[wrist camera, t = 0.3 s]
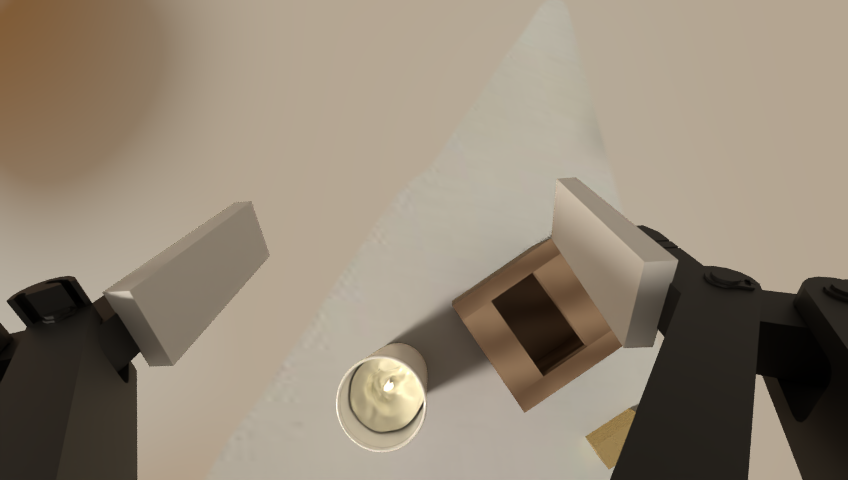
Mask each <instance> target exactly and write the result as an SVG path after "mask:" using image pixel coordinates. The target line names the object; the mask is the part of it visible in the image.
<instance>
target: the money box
mask: <svg viewBox="0 0 848 480" xmlns="http://www.w3.org/2000/svg"><path fill="white" fill-rule="evenodd" d="M452 306H453V307H454V309H455V310H456V312H457V313H458V315H459V316H460V318H461V319H462V321H463V322H464V324H465V325H466V327H467V328H468V330H469V331H470V333H471V334H472V336H473V337H474V339H475V340H476V341H477V343H478V344H479V346H480V347H481V349H482V350H483V352H484V353H485V355H486V356H487V358H488V359H489V361H490V362H491V364H492V365H493V367H494V368H495V370H496V371H497V373H498V374H499V376H500V377H501V379H502V380H503V382H504V383H505V384H506V386H507V387H508V389H509V390H510V392H511V393H512V395H513V396H514V398H515V399H516V401H517V402H518V404H519V405H520V407H521V408H522V410H523V411H524V413H525V412H526V411H528V410H529V409H531V408H532V407H534V406H535V405H537V404H538V403H540V402H541V401H543V400H544V399H546V398H547V397H548V396H550V395H551V394H553V393H554V392H556V391H557V390H559V389H560V388H562V387H563V386H565V385H566V384H568V383H569V382H570V381H572V380H573V379H575V378H576V377H578V376H579V375H581V374H582V373H584V372H585V371H587V370H588V369H590V368H591V367H592V366H594V365H595V364H597V363H598V362H600V361H601V360H603V359H604V358H606V357H607V356H609V355H610V354H612V353H613V352H615V351H616V350H617V349H619V348H620V347H622V345H621V343H620V342H619V340H618V338H617V337H616V335H615V334H614V332H613V331H612V329H611V328H610V326H609V325H608V323H607V322H606V320H605V319H604V317H603V316H602V314H601V313H600V311H599V310H598V308H597V307H596V305H595V304H594V302H593V301H592V299H591V298H590V296H589V295H588V293H587V292H586V290H585V289H584V287H583V286H582V284H581V283H580V281H579V280H578V278H577V277H576V275H575V273H574V272H573V270H572V269H571V267H570V266H569V264H568V263H567V261H566V260H565V258H564V257H563V255H562V254H561V252H560V251H559V249H558V248H557V246H556V245H555V243H554V242H553V240H552V239H548V240H546V241H544V242H541V243H539V244H536V245H534V246H532V247H531V248H529V249H528V250H526V251H525V252H523V253H522V254H520V255H519V256H517V257H516V258H515V259H513V260H512V261H510V262H509V263H507V264H506V265H504V266H503V267H501V268H500V269H498V270H497V271H495V272H494V273H493V274H491V275H490V276H488V277H487V278H485V279H484V280H482V281H481V282H479V283H478V284H476V285H475V286H474V287H472V288H471V289H469V290H468V291H466V292H465V293H463V294H462V295H460V296H459V297H457V298H456V299H454V300H453V301H452Z"/></svg>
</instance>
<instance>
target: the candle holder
mask: <svg viewBox="0 0 848 480" xmlns="http://www.w3.org/2000/svg"><path fill="white" fill-rule="evenodd" d="M427 378H428V375H427V367H426V363H425V361H424V359H423V357H422V356H421V354H420V353H419V352H418V351H417V350H416V349H415V348H413V347H411V346H409V345H407V344H403V343H392V344H389V345H386V346H384V347H382V348H380V349H379V350H377V351H376V352H374V353H373V354H371V355H369V356H368V357H366V358H365V359H362V360H361V361H359V362H357V363H356V364H355V365H353V366H352V367H351V368H350V369H349V370H348V371H347V373H346V374H345V375H344V377H343V379H342V381H341V383H340V385H339V388H338V391H337V397H336V410H337V415H338V419H339V422H340V424H341V426H342V428H343V430H344V431H345V433H346V434H347V435H348V437H349V438H350V439H351V440H352V441H353V442H355V443H356V444H357V445H359V446H361V447H363V448H365V449H367V450H370V451H375V452H389V451H394V450H397V449H399V448H401V447H403V446H405V445H406V444H408V443H409V442H410V441H411V440H412V439H413V438H414V437H415V436H416V435H417V434H418V432H419V431H420V429H421V427H422V425H423V423H424V420H425V416H426V411H427Z"/></svg>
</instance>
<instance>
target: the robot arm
mask: <svg viewBox="0 0 848 480" xmlns="http://www.w3.org/2000/svg"><path fill="white" fill-rule="evenodd" d="M551 239H552V240H553V242H554V243H555V245H556V246H557V248H558V249H559V251H560V252H561V254H562V255H563V257H564V258H565V260H566V261H567V263H568V264H569V266H570V267H571V269H572V270H573V272H574V273H575V275H576V277H577V278H578V280H579V281H580V283H581V284H582V286H583V287H584V289H585V290H586V292H587V293H588V295H589V296H590V298H591V299H592V301H593V302H594V304H595V305H596V307H597V308H598V310H599V311H600V313H601V314H602V316H603V317H604V319H605V320H606V322H607V323H608V325H609V326H610V328H611V329H612V331H613V332H614V334H615V335H616V337H617V338H618V340H619V342H620V343H621V345H622V346H623V348H637V347H653V345H654V341H655V338H656V335H657V331H658V330H659V331H660V332H661V333H662V335H663V336H664V340H663V343H662V346H661V348H660V351H659V353H658V356H657V358H656V361H655V364H654V366H653V369H652V371H651V374H650V377H649V379H648V382H647V385H646V387H645V390H644V392H643V395H642V398H641V400H640V403H639V405H638V408H637V411H636V413H635V416H634V418H633V421H632V424H631V426H630V429H629V432H628V434H627V437H626V439H625V442H624V445H623V447H622V450H621V452H620V455H619V458H618V460H617V463H616V466H615V468H614V471H613V473H612V476H611V479H610V480H748V471H749V457H750V445H751V431H752V418H753V405H754V392H755V391H754V390H755V379H756V374H758V375H762V376H763V378H764V381H765V384H766V386H767V389H768V392H769V394H770V397H771V399H772V402H773V404H774V407H775V410H776V412H777V415H778V417H779V420H780V423H781V425H782V428H783V430H784V433H785V435H786V438H787V440H788V443H789V446H790V448H791V451H792V453H793V456H794V459H795V461H796V464H797V466H798V469H799V471H800V474H801V476H802V479H803V480H848V280H846V279H845V280H842V279H837V278H830V277H813V278H808V279H806V280H805V281H804V282H803V283H802V285H801V287H800V289H799V291H798V293H797V294H791V293H783V292H773V291H765V290H762V289H761V286H760V284H759V283H758V282H756V281H755V280H754V279H753V278H751V277H749V276H747V275H745V274H743V273H741V272H738V271H734V270H731V269H728V268H722V267H716V266H703V265H702V264H700V263H699V262H698V261H696V260H695V259H694V258H693V257H691V256H690V255H689V254H687V253H686V252H685V251H683V250H682V249H681V248H678V246H677V245H675V244H674V243H673V242H671V241H669V240H668V239H667V238H666V237H664V236H663V235H662V234H661V233H659V232H658V231H655V230H653V229H650V228H648V227H646V226H643V225H641V226H635V225H634V224H633V223H632V222H630V221H629V220H628V219H627V218H625V217H624V216H623V215H622V214H621V213H619V212H618V211H617V210H616V209H614V208H613V207H612V206H611V205H609V204H608V203H607V202H606V201H604V200H603V199H602V198H601V197H599V196H598V195H597V194H596V193H594V192H593V191H592V190H591V189H590V188H588V187H587V186H586V185H585V184H583V183H582V182H581V181H580V180H578V179H577V178H562V179H557V182H556V193H555V203H554V214H553V225H552V235H551ZM268 257H269V252H268V249H267V246H266V243H265V240H264V237H263V234H262V231H261V229H260V226H259V223H258V220H257V217H256V214H255V211H254V208H253V205H252V202H251V201H250V202H237V203H233V204H232V205H231V206H229V207H227V208H226V209H225V210H223V211H222V212H220V213H219V214H217V215H216V216H214V217H213V218H211V219H210V220H208V221H207V222H205V223H204V224H202V225H201V226H199V227H198V228H197V229H195V230H194V231H192V232H191V233H189V234H188V235H186V236H185V237H183V238H182V239H180V240H179V241H177V242H176V243H174V244H173V245H171V246H170V247H169V248H167V249H166V250H164V251H163V252H161V253H160V254H158V255H157V256H155V257H154V258H152V259H151V260H149V261H148V262H146V263H145V264H144V265H142V266H141V267H139V268H138V269H136V270H135V271H133V272H132V273H130V274H129V275H127V276H126V277H124V278H123V279H121V280H120V281H118V282H117V283H116V284H114V285H113V286H111V287H110V288H108V289H107V290H105V291H104V292H103V294H104V296H102V297H101V298H99V299H98V300H96V301H95V302H94V303H92V302H91V301H90V299H89V298H88V296H87V295H86V293H85V292H84V290H83V289H82V287H81V286H80V284H79V283H78V282H77V280H76V278H75V277H72V276H65V277H58V278H54V279H50V280H46V281H43V282H40V283H38V284H35V285H32V286H30V287H28V288H26V289H24V290H21V291H19V292H18V293H16V294H14V295H13V296H12V297H10V298H9V299H8V300H7V303H8V304H9V305H10V306H11V308H12V309H13V310H14V311H15V313H16V314H17V315H18V316H19V318H20V319H21V320H22V321H23V322H24V324H25V325H26V326H27V327H26V330H25V331H20V332H16V333H12V334H9V333H8V331H7V330H6V329H5V328H4V327H3V326H2V324H1V323H0V480H137V370H136V369H135V367H134V365H133V364H132V362H131V360H132V359H133V358H134V357H135V356H136V355H137V354H138V353H139V352H141V353H142V355H143V357H144V358H145V360H146V361H147V363H148V365H149V366H173V365H174V364H175V363H176V362H177V361H178V360H179V359H180V357H181V356H182V355H183V354H184V353H185V352H186V351H187V349H188V348H189V347H190V346H191V345H192V344H193V342H195V340H196V339H197V338H198V337H199V336H200V335H201V333H202V332H203V331H204V330H205V329H206V328H207V327H208V326H209V324H210V323H211V322H212V321H213V320H214V319H215V318H216V316H217V315H218V314H219V313H220V312H221V311H222V310H223V308H224V307H225V306H226V305H227V304H228V303H229V302H230V300H231V299H232V298H233V297H234V296H235V294H237V292H238V291H239V290H240V289H241V288H242V287H243V286H244V285H245V283H246V282H247V281H248V280H249V279H250V278H251V276H252V275H253V274H254V273H255V272H256V271H257V270H258V268H259V267H260V266H261V265H262V264H263V263H264V262H265V260H266V259H267V258H268Z"/></svg>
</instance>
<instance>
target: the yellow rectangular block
mask: <svg viewBox="0 0 848 480" xmlns="http://www.w3.org/2000/svg"><path fill="white" fill-rule="evenodd" d="M635 413H636V412H634V411H633V410H631V409H630V408H629V409H627V410H626V411H624V412H623V413H621V414H619V415H618V416H616V417H615V418H613V419H612V420H610V421H609V422H607V423H606V424H604V425H603V426H601V427H600V428H598V429H596V430H595V431H593V432H592V433H590V434H589V435H587V436H586V439H587V440H588V442H589V443H590V445H591V446H592V448H593V449H594V451H595V452H596V454H597V455H598V457H599V458H600V459H601V460H602V462H603V463H604V464H605V465H606V466H607V468H608V469H610V468H612V467H613V466H615V465H616V463H617V460H618V458H619V455H620V452H621V450H622V447H623V445H624V442H625V439H626V437H627V434H628V432H629V429H630V426H631V424H632V421H633V418H634V416H635Z"/></svg>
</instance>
